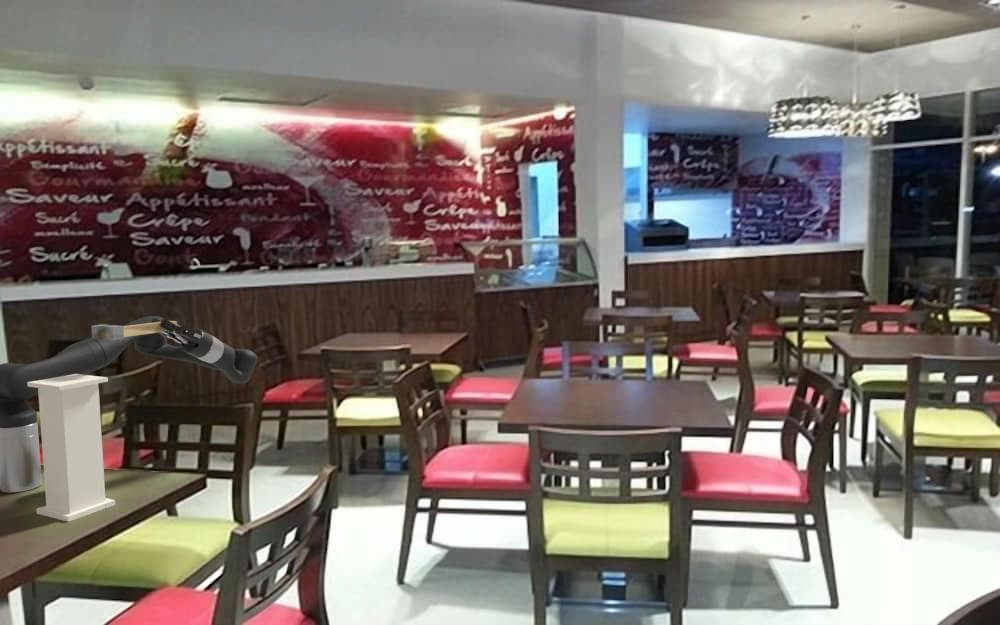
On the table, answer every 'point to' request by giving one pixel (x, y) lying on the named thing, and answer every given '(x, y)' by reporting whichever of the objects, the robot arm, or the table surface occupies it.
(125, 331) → the hammer
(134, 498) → the table surface
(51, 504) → the stand
